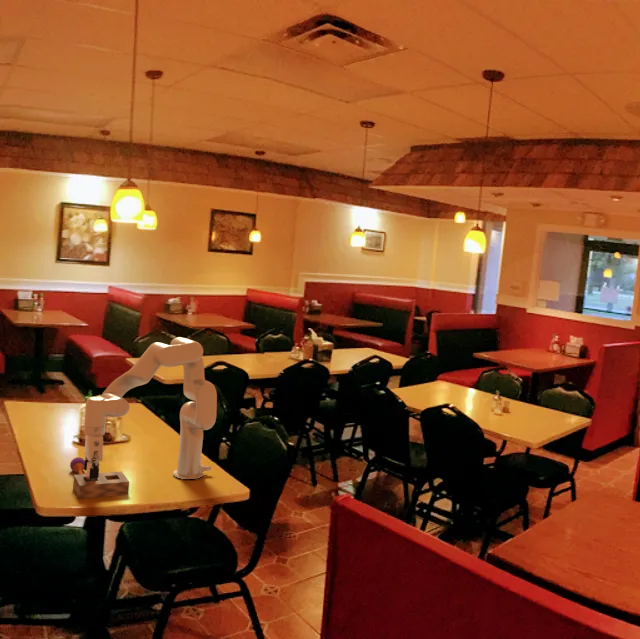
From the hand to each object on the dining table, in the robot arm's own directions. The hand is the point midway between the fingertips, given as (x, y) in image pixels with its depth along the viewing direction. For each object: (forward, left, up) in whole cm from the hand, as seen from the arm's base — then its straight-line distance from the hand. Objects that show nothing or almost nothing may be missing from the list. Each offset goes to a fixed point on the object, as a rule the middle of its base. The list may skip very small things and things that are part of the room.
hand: (91, 474), depth 245 cm
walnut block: (-4, 0, -7) cm, 8 cm away
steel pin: (0, 0, -5) cm, 5 cm away
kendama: (0, -17, -7) cm, 19 cm away
